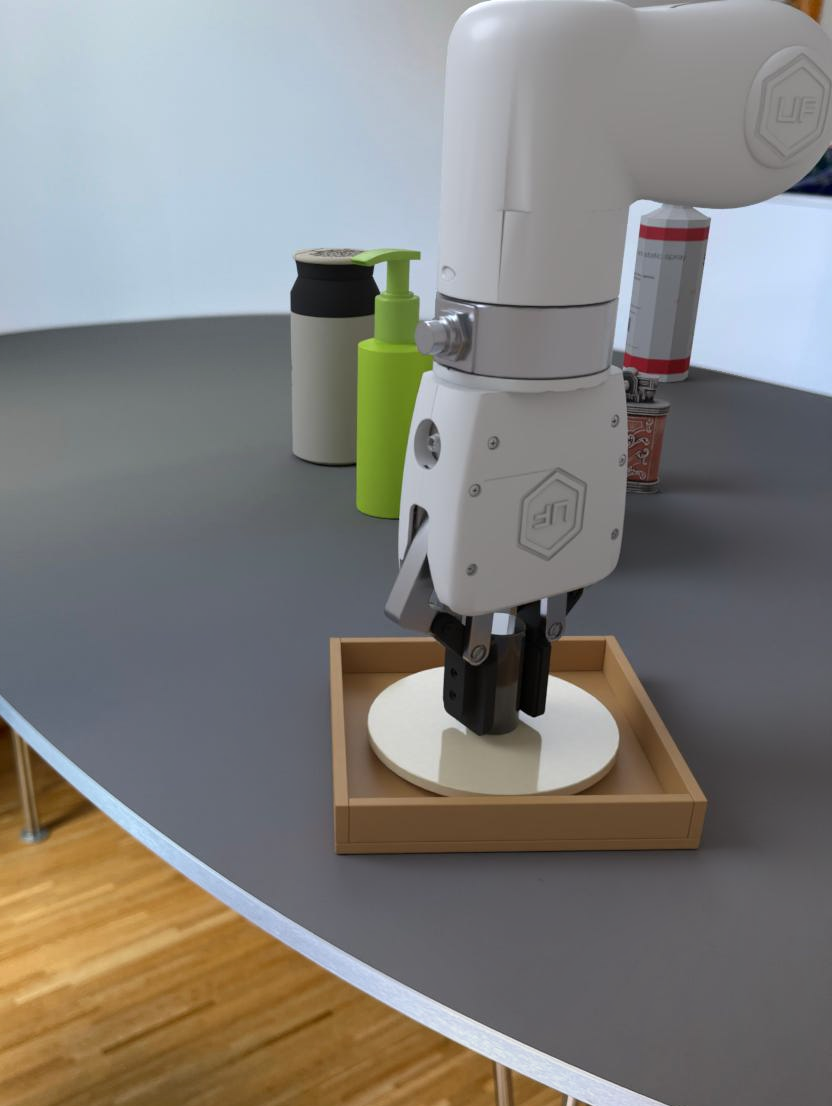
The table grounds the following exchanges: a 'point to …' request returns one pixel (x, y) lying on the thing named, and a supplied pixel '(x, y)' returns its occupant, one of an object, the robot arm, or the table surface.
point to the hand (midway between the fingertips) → (493, 710)
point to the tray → (508, 821)
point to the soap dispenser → (387, 386)
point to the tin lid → (494, 732)
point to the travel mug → (328, 351)
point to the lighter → (643, 430)
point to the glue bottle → (666, 291)
